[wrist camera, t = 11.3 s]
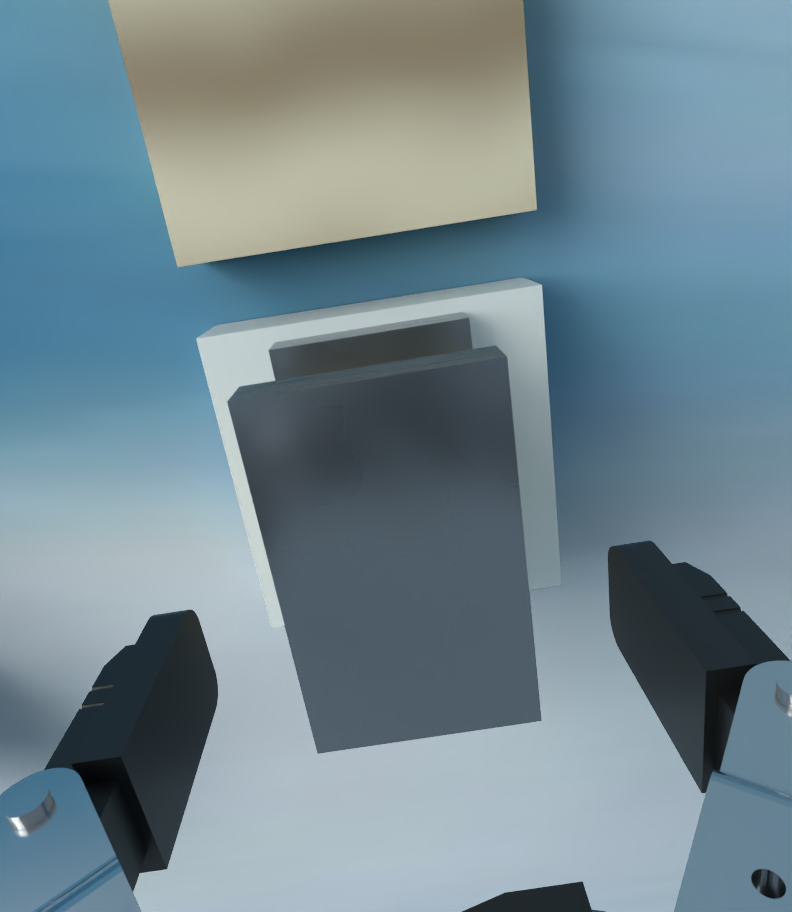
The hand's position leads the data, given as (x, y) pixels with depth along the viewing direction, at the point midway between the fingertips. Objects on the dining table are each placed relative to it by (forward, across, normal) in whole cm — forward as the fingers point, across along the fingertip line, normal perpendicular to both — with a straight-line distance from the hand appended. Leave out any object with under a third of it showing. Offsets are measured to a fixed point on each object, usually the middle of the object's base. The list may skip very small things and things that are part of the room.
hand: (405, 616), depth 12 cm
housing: (+8, 0, 0) cm, 8 cm away
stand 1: (+11, 0, -12) cm, 16 cm away
